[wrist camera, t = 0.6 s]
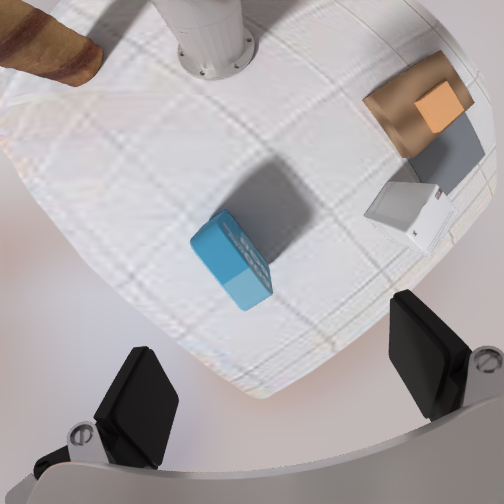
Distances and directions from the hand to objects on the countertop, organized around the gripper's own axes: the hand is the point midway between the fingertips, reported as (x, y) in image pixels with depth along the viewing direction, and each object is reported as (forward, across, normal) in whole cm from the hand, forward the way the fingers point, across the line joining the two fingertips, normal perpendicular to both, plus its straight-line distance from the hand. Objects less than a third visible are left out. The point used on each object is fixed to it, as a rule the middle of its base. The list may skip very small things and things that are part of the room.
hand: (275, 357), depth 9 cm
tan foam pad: (+31, -35, -13) cm, 48 cm away
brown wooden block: (+35, -34, -14) cm, 51 cm away
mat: (+35, -39, -4) cm, 53 cm away
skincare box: (+35, -22, +4) cm, 41 cm away
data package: (+35, +5, +5) cm, 36 cm away
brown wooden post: (+36, +26, -38) cm, 58 cm away
